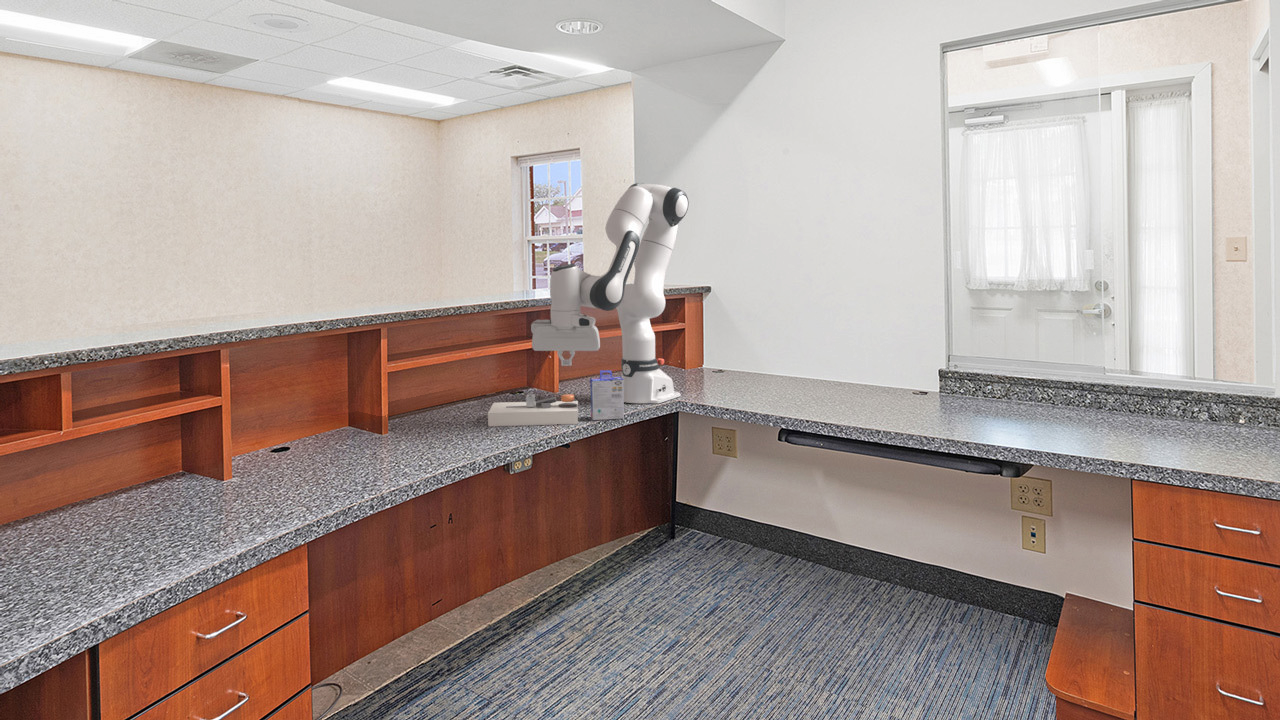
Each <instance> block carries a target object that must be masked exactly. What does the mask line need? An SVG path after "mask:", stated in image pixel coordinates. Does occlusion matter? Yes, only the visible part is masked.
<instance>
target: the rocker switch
mask: <svg viewBox="0 0 1280 720" xmlns="http://www.w3.org/2000/svg"><path fill="white" fill-rule="evenodd" d="M556 401H557V396H551V397H547V398H543V399H539V400H535V402H536V407H537V406H541V405H542V403H554V402H556Z"/></svg>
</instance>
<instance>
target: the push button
mask: <svg viewBox="0 0 1280 720" xmlns="http://www.w3.org/2000/svg"><path fill="white" fill-rule="evenodd" d="M560 401H562V402H573V401H575V394H572V393H571V394H570V393H567V394H566V393H565V394H561V395H560Z"/></svg>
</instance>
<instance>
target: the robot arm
mask: <svg viewBox="0 0 1280 720" xmlns="http://www.w3.org/2000/svg"><path fill="white" fill-rule="evenodd" d="M689 203H690V202H689V199H688V195H687V193H686V192H685V191H684V190H682V189H680V188H678V187H672V186H668V185H664V184H659V183H658V184H656V183H655V184H654V183H643V182H638V183H637V182H636V183H633V184H631V185H630V186H629V187H628V188H627V190H625V192H624V193H623V194H622V195H621V197H620V198H619V199H618V201H617V202H616V204H615V206H614V207H613V209H612V211H611V212H610V214H609V216H608V219H607V221H606V223H605V224H606V225H605V228H604V229H605V234H606V237H607V238H608V240H609V241H610V242H611V243H612V244H613V245H615V246H616V247H615V249H616V250H615V253H614V256H613V257H612V260H611V262H610V265H609V267H608V270H607V271H606V272H605V273H604V274H602V275H593V274H591V273H588V272H585V271H584V270H582V269H581V268H580V267H578V265H577V264H574V263H569V264H561V265H558V266H556V267H554V268H553V269H552V271H551V274H550V283H549V290H550V291H549V296H550V298H551V300H550V301H551V305H550V319H536V320H534V321H533V322H532V323H531V325H530V331H531V334H532V338H531V347H532V350H534V351H535V352H538V351H539V352H544V351H545V352H557V353H556V354H557V356H558V358H559V360H560V365H561V366H562V367H564V366H565V367H567V366H568V367H571V366H573V365H572V364H573V363H572V360H573V358H574V356H575V355H576V352H596V351H599V349H600V348H601V340H600V332H599V329H598V327H597V326H596V318H595V317H592V316H590V315H586V314H584V313H581V307H587V308H592V309H593V308H594V309H598V310H602V311H606V312H609V311H613V310H615V309H616V311H617V316H618V321H619V325H620V330H621V337H622V338H621V339H622V340H621V341H622V358H620V359H621V362H620V364H621V365H620V368H621V372H622V373H621V378H622V379H623V398H624V403H628V404H629V403H630V404H661V403H663V402H664V403H665V402H667V401H670V400H673V399H676V398H679V397H681V393H680V392H678V391H676V390H675V387H674V381H673V379H672V378H671V377H670V376H669V375H668V374H667V373H665V372H664V371H663V370H662V369H660V366H659V365H662V366H663V365H664V364H665V359H664V358H656V335H655V334H656V333H655V332H654V329H653V328H652V325H651V320H650V319H653V318H657V317H659V316H660V315H661V314H662V313H663V312H664V310H665V308H666V297H665V295H664V289H665V280H666V279H665V278H666V275H667V270H668V267H669V264H670V261H671V257H672V253H673V250H674V248H675V245H676V240H677V235H678V229H679V227H678V226H679V223H680V222H681V221H682V220H683V218H685V216H686V214H687V212H688V209H689ZM647 222H648V224H647ZM646 224H647V226H646ZM645 226H646V227H645ZM644 228H645V229H644ZM643 230H644V232H643ZM642 232H643V235H642ZM641 235H642V237H641ZM640 237H641V239H640ZM633 265H634V280H633V283H627V280H628V278H629V275H630V273H631V270H632V268H633ZM564 352H569V355H570V357H569V358H568V359H565V358H564V356H563V353H564Z"/></svg>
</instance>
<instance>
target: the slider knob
mask: <svg viewBox="0 0 1280 720" xmlns="http://www.w3.org/2000/svg"><path fill="white" fill-rule="evenodd" d="M525 402H526V407H535V402H536V394H535V393H532V392H529V394H526V396H525Z"/></svg>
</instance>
